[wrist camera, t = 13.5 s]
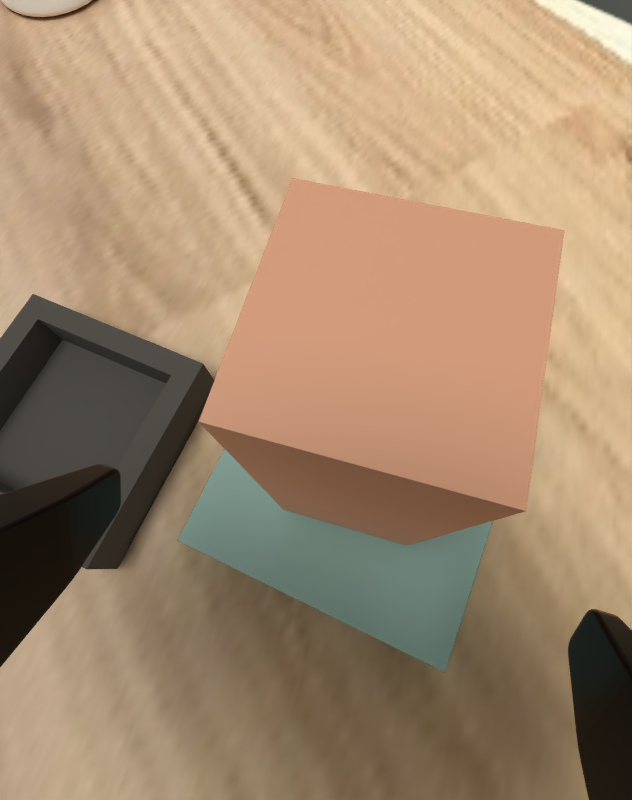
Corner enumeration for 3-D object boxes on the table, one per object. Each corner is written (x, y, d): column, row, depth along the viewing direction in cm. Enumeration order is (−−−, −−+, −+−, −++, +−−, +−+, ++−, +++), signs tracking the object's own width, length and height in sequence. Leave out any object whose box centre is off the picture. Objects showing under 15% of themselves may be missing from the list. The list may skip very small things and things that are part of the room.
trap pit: (217, 385, 22) (203, 363, 20) (116, 568, 19) (86, 569, 17) (63, 320, 24) (32, 294, 21) (-50, 482, 21) (-98, 472, 19)
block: (406, 545, 18) (525, 510, 7) (283, 509, 18) (198, 421, 7) (432, 425, 19) (564, 230, 8) (317, 396, 20) (292, 177, 9)
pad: (517, 413, 21) (530, 402, 20) (436, 664, 18) (444, 672, 16) (297, 330, 23) (294, 314, 21) (188, 542, 20) (177, 540, 18)
